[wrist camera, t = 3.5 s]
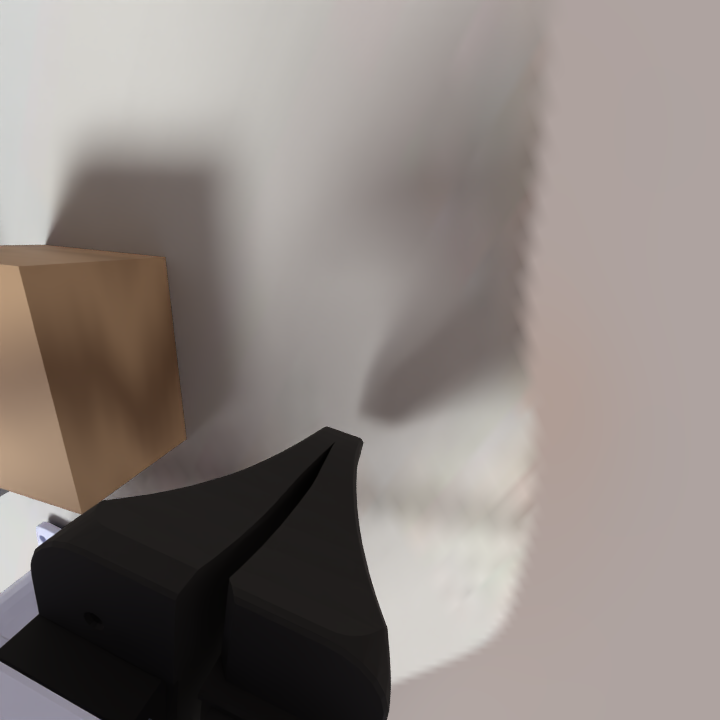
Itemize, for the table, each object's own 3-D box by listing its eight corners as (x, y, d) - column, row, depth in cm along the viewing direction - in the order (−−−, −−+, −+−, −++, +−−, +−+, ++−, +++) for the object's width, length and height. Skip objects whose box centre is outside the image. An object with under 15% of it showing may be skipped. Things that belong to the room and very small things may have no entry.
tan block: (188, 437, 16) (82, 514, 12) (86, 412, 18) (-45, 473, 13) (168, 257, 14) (18, 266, 9) (49, 244, 15) (-133, 247, 10)
